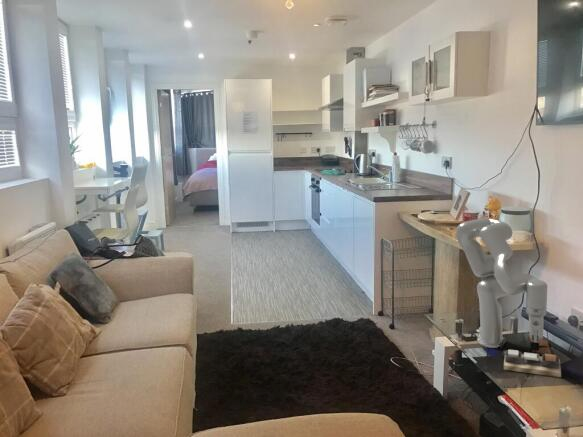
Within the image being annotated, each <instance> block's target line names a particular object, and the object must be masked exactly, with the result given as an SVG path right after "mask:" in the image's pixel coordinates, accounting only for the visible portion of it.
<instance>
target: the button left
mask: <svg viewBox="0 0 583 437" xmlns="http://www.w3.org/2000/svg"><path fill="white" fill-rule="evenodd" d="M519 352H520V351H519V350H516V349H508V356H510V357H518V358H519Z"/></svg>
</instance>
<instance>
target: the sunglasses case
mask: <svg viewBox="0 0 583 437" xmlns="http://www.w3.org/2000/svg"><path fill="white" fill-rule="evenodd" d="M528 342H529V345H530V344H531V337H530V334H529V335H528ZM530 350H531V349H530ZM531 353H534V354H539V356H542V354H543V355H545V354H552V352H551V347H550V345H549V340H546V339H544V338H543V339H540V338H539V351H535V350H531Z"/></svg>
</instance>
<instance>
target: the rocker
mask: <svg viewBox="0 0 583 437" xmlns="http://www.w3.org/2000/svg"><path fill="white" fill-rule="evenodd" d="M523 354H524V359H529V360H536V361H539V354H534V353H532V352H525V351H524V352H523Z"/></svg>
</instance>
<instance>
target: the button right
mask: <svg viewBox="0 0 583 437" xmlns="http://www.w3.org/2000/svg"><path fill="white" fill-rule="evenodd" d="M556 356H557V355H556V354H552V353H551V354H545V361H551V362H556Z"/></svg>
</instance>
